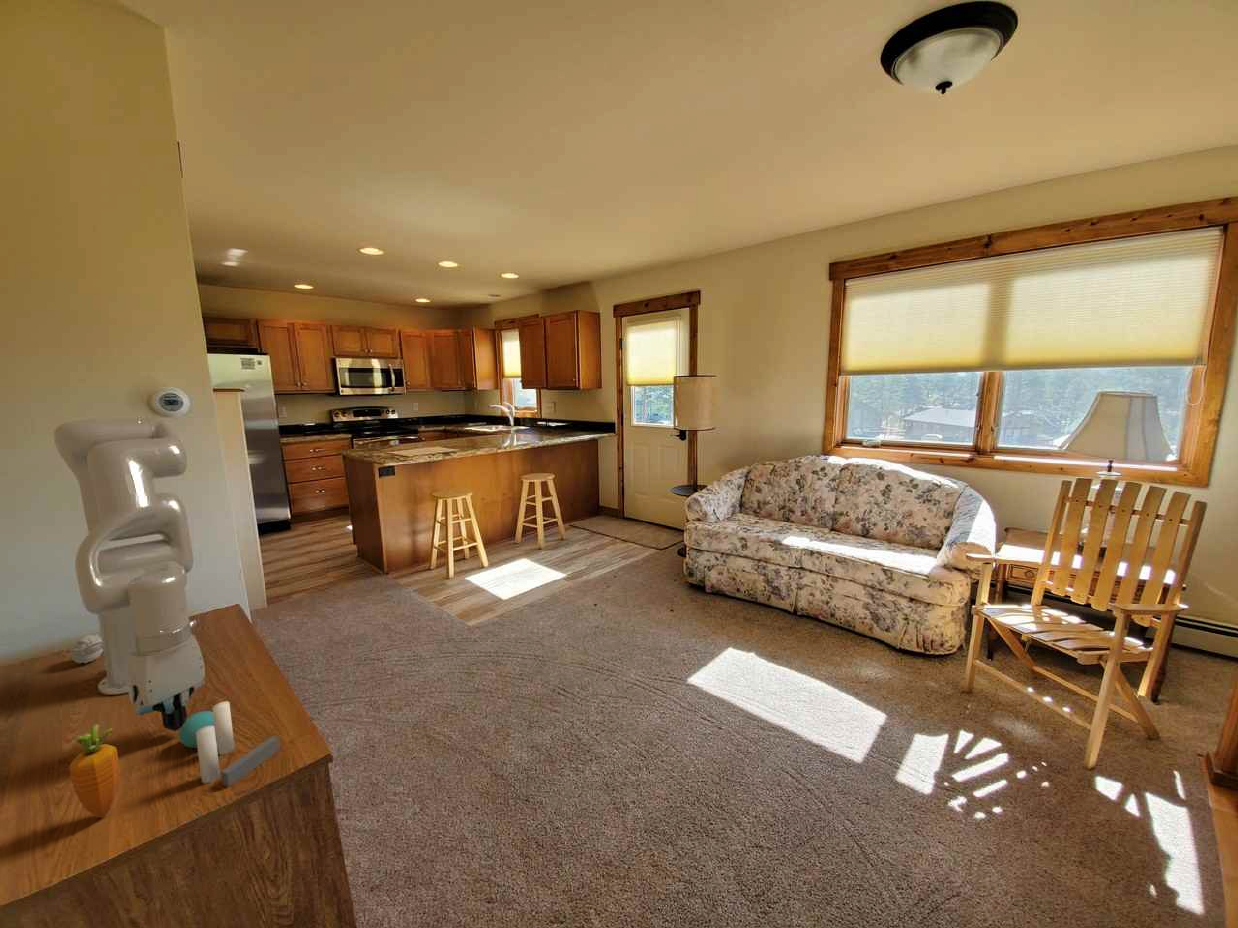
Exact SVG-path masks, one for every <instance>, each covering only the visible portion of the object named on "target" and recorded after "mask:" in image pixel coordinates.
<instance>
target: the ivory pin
mask: <svg viewBox="0 0 1238 928" xmlns="http://www.w3.org/2000/svg"><path fill="white" fill-rule="evenodd" d="M212 712H213V716H214V725H215V733H216V743H217V753H218V755H223V756H224V755H226V754H229V753H231V752H233V750H234V749H235V739H234V732H233V723H232V715H231V712H232V711H231V704H230V701H227V700H226V701H221V702H218V703H216V704H214V705H213V706H212Z"/></svg>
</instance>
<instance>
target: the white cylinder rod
mask: <svg viewBox="0 0 1238 928" xmlns="http://www.w3.org/2000/svg"><path fill="white" fill-rule="evenodd" d="M196 739H197V747H196V748H197V754H198V760H199V761H198V762H199V770H200V776H201V777H200V778H201V783H202V784H210V783H213V782H214V781H216V780H217V779H219V778H220V776H221V771H220V763H219V754H218V749H217V745H216V743H217V741H216V737H215V729H214V726H206V727H203V728H201V729H199V730H198V731H197V732H196Z"/></svg>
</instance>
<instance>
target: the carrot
mask: <svg viewBox="0 0 1238 928" xmlns="http://www.w3.org/2000/svg"><path fill="white" fill-rule="evenodd" d="M90 732H91V733H85V734H84V735H80V736H78V737H77V738H76V740H75V742H77V743H79V744H80V745H81V746H82V749H83V751H81V752H80V753H78V754H77V755H76V757H75V758H74V759H73V760H72V761H71V763H70V764H69V773H70V774H69V775H70V777H71V782H72V785H73V789H74V792H75V794H76V796H77V799H78V800H79V802H80V803H81V805H82V807H83V808H84V809H86V811H87V812H89V813H91V815H93V816H95V817H96V818H99V819H103V818H105V817H106V816H107V815H108V813H109V811H110V809H111V807H112V805H113V803H114V801H115V799H116V795H117V792H118V788H119V787H118V785H119V781H120V780H119V779H120V777H119V776H120V767H119V766H120V765H119V755H118V749H117V747H116V746H114V745H110V744H108V743H107V744H106V743H104V744H102V743H103V740H105V739H106V737H107V736H108V735H109V734H111V733H112V732H114V729H113V728H109V729H106V730H105V731H104V732H103V733H102V734H100V736H99V738H98V735H99V734H98V733H99V724H95V725H93V726H92V727H91V731H90Z"/></svg>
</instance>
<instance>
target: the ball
mask: <svg viewBox="0 0 1238 928" xmlns="http://www.w3.org/2000/svg"><path fill="white" fill-rule="evenodd" d="M206 726H214V729H215V725H214V716H213V711H208V710H207V711H200V712H197V713H194V714H193V715H191V716H190V717H188V718H186V721H185V722H184V724H183V725H182V727H180V729H179V734H178V735H179V740H180V742H181V743H182V744H183V746H185V747H187V748H192V749H193V748H198V747H197V739H196V732H197V731H198V730H199V729H201V728H203V727H206ZM215 737H216V733H215Z"/></svg>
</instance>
